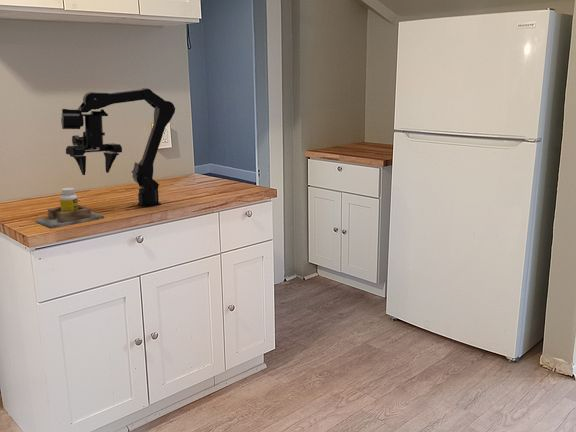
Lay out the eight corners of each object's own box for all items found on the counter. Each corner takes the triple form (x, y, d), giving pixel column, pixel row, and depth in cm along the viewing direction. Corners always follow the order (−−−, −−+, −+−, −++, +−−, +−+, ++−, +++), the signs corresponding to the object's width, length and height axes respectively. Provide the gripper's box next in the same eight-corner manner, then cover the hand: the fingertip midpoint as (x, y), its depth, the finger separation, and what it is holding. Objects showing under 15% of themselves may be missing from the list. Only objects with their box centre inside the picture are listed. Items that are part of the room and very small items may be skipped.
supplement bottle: (76, 219, 184) (74, 190, 181) (59, 219, 183) (56, 190, 181) (80, 215, 189) (78, 186, 187) (64, 215, 188) (61, 187, 186)
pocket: (86, 212, 196) (85, 201, 196) (104, 218, 188) (103, 207, 188) (35, 221, 184) (34, 210, 183) (51, 228, 176) (50, 216, 175)
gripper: (104, 126, 205) (106, 168, 209) (56, 128, 191) (58, 173, 195) (122, 129, 198) (123, 172, 202) (73, 130, 184) (75, 177, 188)
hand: (95, 173), depth 197 cm, fingers open, 9 cm apart
